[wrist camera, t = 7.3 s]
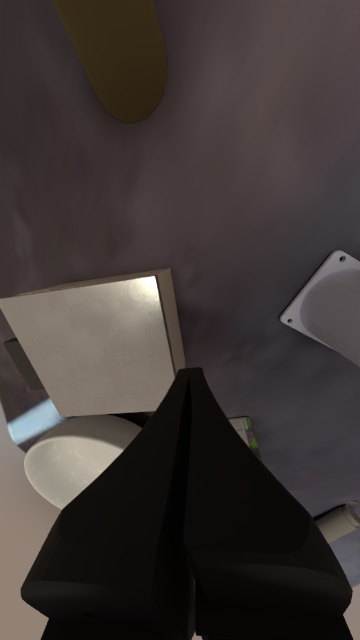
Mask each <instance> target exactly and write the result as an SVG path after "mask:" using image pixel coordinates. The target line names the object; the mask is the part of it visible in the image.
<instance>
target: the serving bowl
mask: <svg viewBox="0 0 360 640" xmlns="http://www.w3.org/2000/svg"><path fill="white" fill-rule="evenodd" d="M141 430H142V428H141V427H139V426H138V425H136V424H134V423H132V422H130V421H128V420H126V419H123V418H120V417H116V416H112V415H105V414H100V415H84V416H78V417H75V418H72V419H69V420H67V421H65V422H63V423H61V424H59V425H57V426H56V427H54V428H53V429H51V430H50V431H49V432H47V433H46V434H45V435H44V436H43V437H41V438H40V439H39V440H38V441H37V442H36V443H35V444H34V445H33V446H32V447H31V448H30V449H29V450H28V452H27V454H26V456H25V460H24V469H25V473H26V475H27V478H28V480H29V481H30V483H31V484H32V486H33V487H34V488H35V490H37V491H38V492H39V493H40V494H41V495H42V496H43V497H44V498H45V499H47V500H48V501H49V502H51V503H52V504H54V505H55V506H56V507H58V508H60V509H63V508H64V507H65V506H66V505H67V504H69V503H70V502H71V501H72V500H73V499H74V498H75V497H76V496H77V495H79V494H80V493H81V492H82V491H83V490H84V489H85V488H86V487H87V486H88V485H89V484H91V483H92V482H93V481H94V480H95V479H96V478H97V477H98V476H99V475H100V474H101V473H102V472H103V471H104V470H105V469H106V468H107V467H108V466H109V465H110V464H111V463H112V462H113V461H114V460H115V459H116V458H117V457H118V456H119V455H120V454H121V453H122V452H123V450H124V449H125V448H126V447H127V446H128V445H129V444H130V443H131V442H132V440H133V439H134V438H135V437H136V436H137V434H138V433H139V432H140V431H141Z"/></svg>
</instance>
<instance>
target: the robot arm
mask: <svg viewBox="0 0 360 640" xmlns="http://www.w3.org/2000/svg"><path fill="white" fill-rule="evenodd" d="M341 257H342V260H341V261H339V259H340V258H341ZM288 319H291V320H290V321H289V322H287V321H288ZM280 321H281V322H283V323H284V324H286V325H288V326H290V327H292V328H294V329H296V330H298V331H299V332H301V333H303V334H305V335H307V336H309V337H311V338H313V339H314V340H316V341H318V342H320V343H322V344H324V345H326V346H328V347H329V348H331V349H333V350H335V351H337V352H338V353H340V354H341V355H343V356H344V357H346V358H347V359H348V360H350V361H351V362H353V363H354V364H356V365H357V366H358V367H360V262H359V261H358V260H356V259H355V258H353V257H351V256H350V255H348V254H346V253H345V252H343V251H334V252H332V253H331V254H330V256H329V257H328V258H327V259H326V261H325V262H324V263H323V264H322V265H321V267H320V268H319V269H318V270H317V272H316V273H315V274H314V275H313V277H312V278H311V279H310V280H309V281H308V283H307V284H306V285H305V286H304V288H303V289H302V290H301V291H300V293H299V294H298V295H297V296H296V297H295V299H294V300H293V301H292V302H291V304H290V305H289V306H288V307H287V308H286V310H285V311H284V312H283V313H282V315H281V316H280ZM194 578H195V581H194ZM352 592H353V591H352V588H351V586H350V584H349V582H348V580H347V578H346V575H345V573H344V571H343V569H342V567H341V565H340V564H339V562H338V560H337V558H336V556H335V555H334V553H333V551H332V549H331V547H330V546H329V544H328V542H327V541H326V539H325V537H324V536H323V534H322V532H321V531H320V529H319V528H318V526H317V524H316V523H315V521H314V520H313V518H312V517H311V515H310V514H309V512H308V511H307V510H306V509H305V508H304V507H303V506H302V505H301V504H300V503H299V502H298V501H297V500H296V499H295V498H294V497H293V496H292V495H291V494H290V493H289V492H288V491H287V490H286V488H285V487H284V486H283V485H282V484H281V483H280V482H279V481H278V480H277V479H276V478H275V477H274V475H273V474H272V473H271V472H270V471H269V470H268V469H267V468H266V467H265V465H264V464H263V463H262V462H261V461H260V460H259V458H258V457H257V456H256V455H255V454H254V452H253V451H252V450H251V449H250V448H249V446H248V445H247V444H246V443H245V442H244V440H243V439H242V438H241V436H240V435H239V434H238V432H237V431H236V430H235V428H234V427H233V426H232V424H231V423H230V421H229V420H228V419H227V417H226V416H225V414H224V413H223V411H222V409H221V408H220V406H219V405H218V403H217V401H216V399H215V398H214V396H213V394H212V392H211V390H210V388H209V386H208V384H207V382H206V379H205V377H204V373H203V369H202V368H201V367H198V368H185V369H179V370H178V372H177V374H176V377H175V379H174V381H173V383H172V384H171V386H170V388H169V390H168V392H167V393H166V395H165V397H164V398H163V400H162V402H161V403H160V405H159V406H158V408H157V409H156V411H155V412H154V414H153V415H152V416H151V418H150V419H149V421H148V422H147V423H146V424H145V426H144V427H143V428H142V430H141V431H140V432H139V433H138V434H137V436H136V437H135V438H134V439H133V440H132V442H131V443H130V444H129V445H128V446H127V447H126V448H125V449H124V450H123V452H122V453H121V454H120V455H119V456H118V457H117V458H116V459H115V460H114V461H113V462H112V463H111V464H110V465H109V466H108V467H107V468H106V469H105V470H104V471H103V472H102V473H101V474H100V475H99V476H98V477H97V478H96V479H95V480H94V481H93V482H92V483H91V484H89V485H88V486H87V487H86V488H85V489H84V490H83V491H82V492H81V493H80V494H79V495H77V496H76V497H75V498H74V499H73V500H72V501H71V502H70V503H69V504H67V505H66V506H65V507H64V508H63V509H62V511H61V513H60V514H59V516H58V518H57V520H56V521H55V523H54V525H53V526H52V528H51V530H50V532H49V534H48V537H47V538H46V540H45V542H44V544H43V546H42V548H41V550H40V552H39V554H38V556H37V558H36V560H35V561H34V563H33V565H32V567H31V570H30V571H29V573H28V575H27V577H26V579H25V581H24V583H23V585H22V587H21V597H22V599H23V600H24V601H25V602H26V603H27V604H29V605H30V606H32V607H33V608H35V609H36V610H38V611H39V612H40V613H42V614H43V615H45V616H46V617H48V618H49V620H48V622H47V625H46V627H45V630H44V633H43V635H42V638H41V640H191V639H192V637H193V635H194V632H195V631H196V635H197V636H202V639H203V640H353V638H352V635H351V633H350V630H349V628H348V626H347V623H346V621H345V618H344V616H343V614H344V612H345V611H346V609H347V608H348V606H349V604H350V603H351V599H352Z"/></svg>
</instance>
